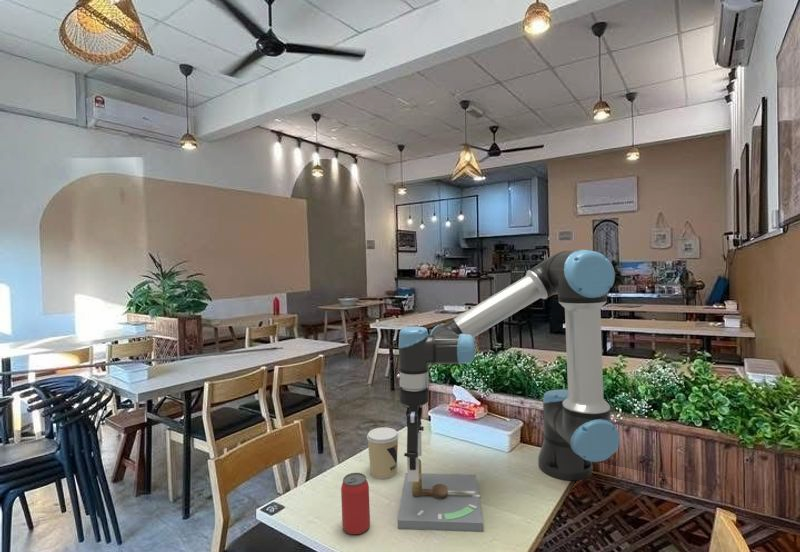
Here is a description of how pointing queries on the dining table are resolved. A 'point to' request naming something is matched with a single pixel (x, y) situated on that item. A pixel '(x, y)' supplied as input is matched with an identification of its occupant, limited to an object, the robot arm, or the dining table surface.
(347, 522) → the beer can
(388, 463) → the coffee cup
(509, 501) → the dining table surface
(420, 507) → the board
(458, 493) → the peg dial
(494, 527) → the dining table surface
